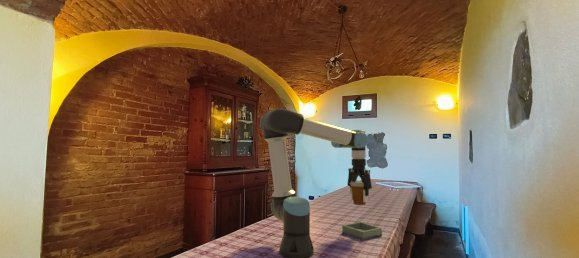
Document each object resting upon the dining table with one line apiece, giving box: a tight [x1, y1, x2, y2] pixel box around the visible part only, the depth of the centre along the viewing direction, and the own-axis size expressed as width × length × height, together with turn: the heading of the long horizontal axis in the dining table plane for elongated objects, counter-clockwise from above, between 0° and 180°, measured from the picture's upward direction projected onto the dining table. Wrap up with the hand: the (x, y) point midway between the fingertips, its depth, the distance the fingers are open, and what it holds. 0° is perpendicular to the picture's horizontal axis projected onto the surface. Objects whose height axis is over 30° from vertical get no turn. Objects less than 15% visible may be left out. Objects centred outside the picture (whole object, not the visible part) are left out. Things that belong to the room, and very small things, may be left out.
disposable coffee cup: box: [350, 180, 367, 206], centre depth 158 cm, size 10×10×12 cm
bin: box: [341, 221, 383, 241], centre depth 157 cm, size 14×15×4 cm
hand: (359, 200), depth 158 cm, fingers closed on disposable coffee cup, 8 cm apart
